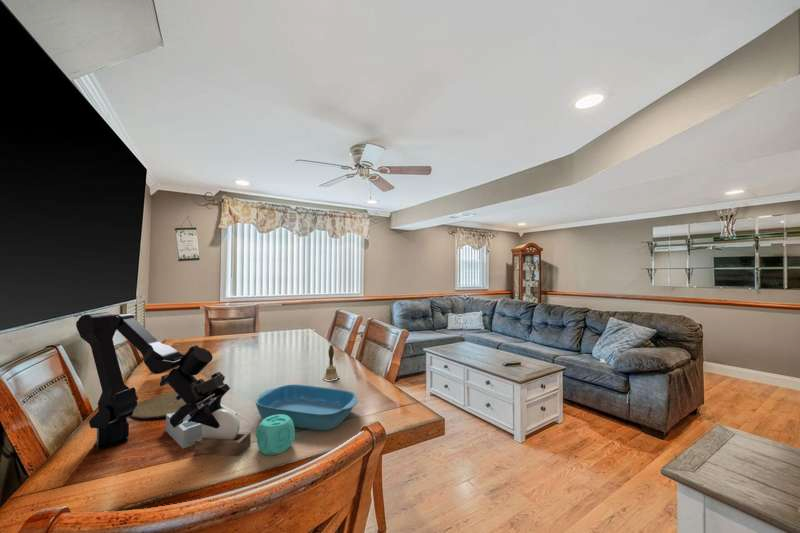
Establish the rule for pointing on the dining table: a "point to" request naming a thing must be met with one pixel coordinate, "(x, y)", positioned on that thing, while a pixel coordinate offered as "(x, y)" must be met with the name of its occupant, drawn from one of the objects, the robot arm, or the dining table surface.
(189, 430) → the rack
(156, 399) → the decorative disc
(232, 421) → the plate
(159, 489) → the dining table surface
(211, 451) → the stand
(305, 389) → the casserole dish
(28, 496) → the dining table surface
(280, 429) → the decorative dice
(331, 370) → the hand bell
